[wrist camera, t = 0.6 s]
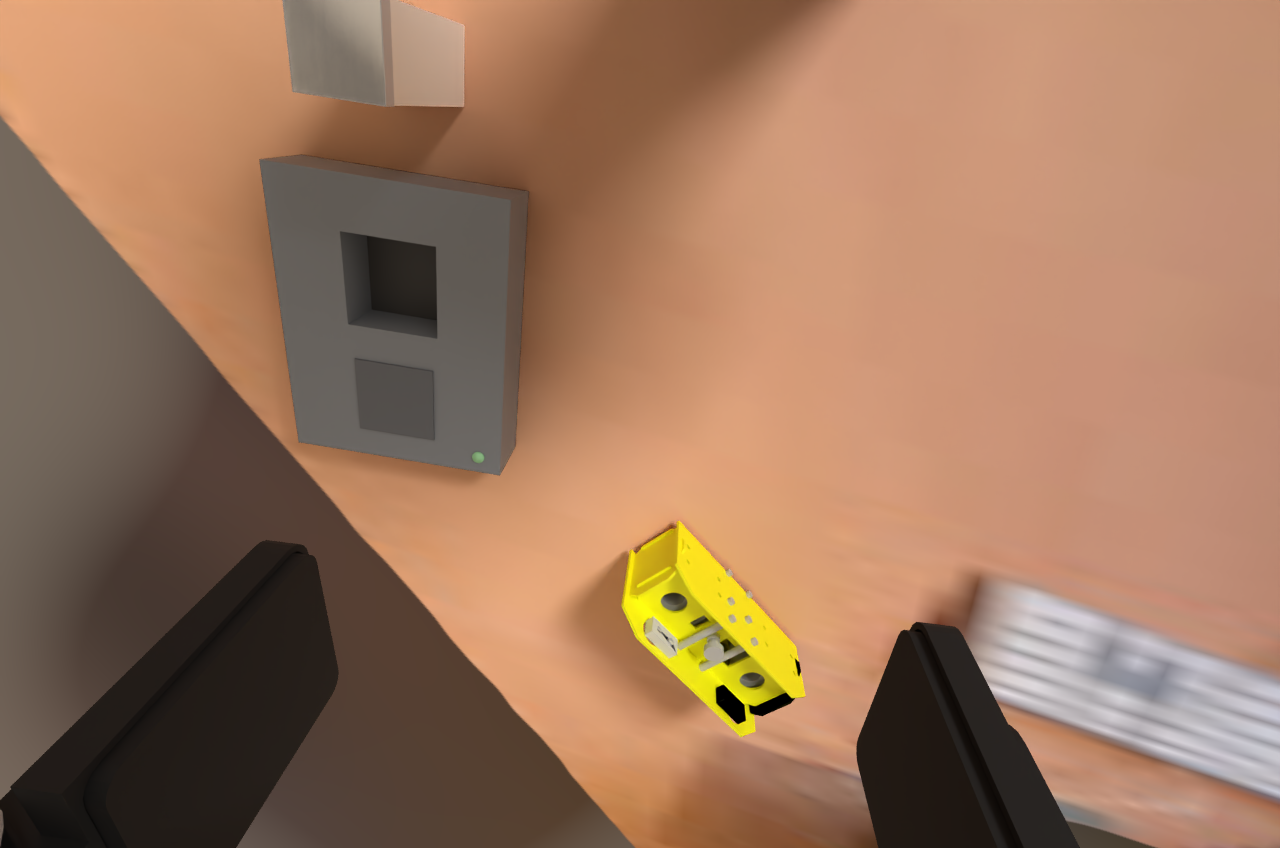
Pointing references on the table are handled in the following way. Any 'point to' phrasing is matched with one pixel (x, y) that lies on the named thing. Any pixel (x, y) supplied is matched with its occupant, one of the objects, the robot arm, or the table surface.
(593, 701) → the table surface
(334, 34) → the plug
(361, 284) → the plate
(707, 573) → the yellow toy chassis
